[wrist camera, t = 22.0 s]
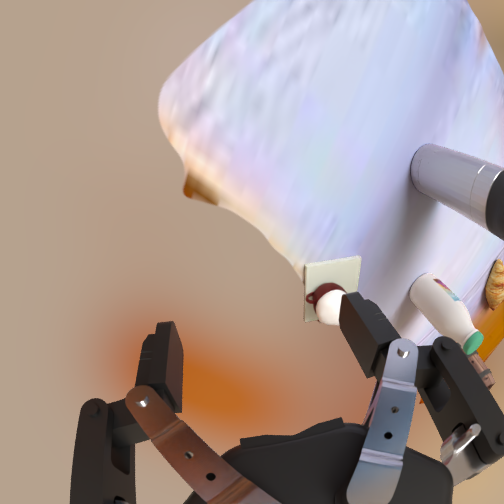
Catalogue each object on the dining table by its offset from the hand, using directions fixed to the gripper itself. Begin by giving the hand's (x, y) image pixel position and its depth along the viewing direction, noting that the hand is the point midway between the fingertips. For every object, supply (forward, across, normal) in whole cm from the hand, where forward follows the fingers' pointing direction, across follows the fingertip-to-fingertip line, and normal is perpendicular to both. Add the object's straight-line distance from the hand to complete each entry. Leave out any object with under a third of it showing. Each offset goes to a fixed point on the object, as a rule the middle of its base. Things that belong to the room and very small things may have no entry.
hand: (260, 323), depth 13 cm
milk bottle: (+28, -39, +26) cm, 55 cm away
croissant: (+28, -74, +34) cm, 86 cm away
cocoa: (+27, -15, +21) cm, 37 cm away
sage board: (+28, -16, +21) cm, 39 cm away
